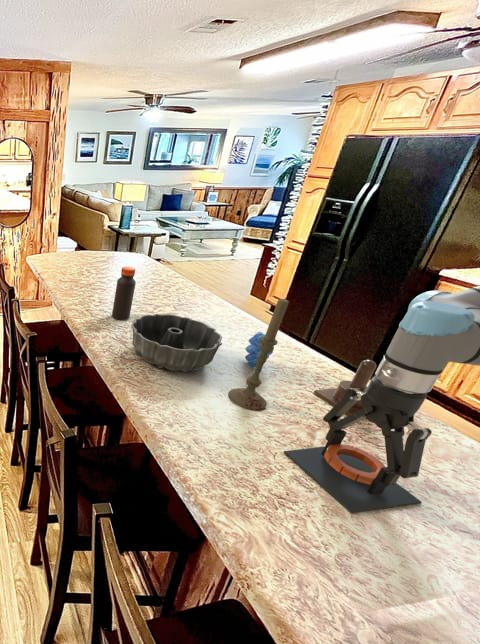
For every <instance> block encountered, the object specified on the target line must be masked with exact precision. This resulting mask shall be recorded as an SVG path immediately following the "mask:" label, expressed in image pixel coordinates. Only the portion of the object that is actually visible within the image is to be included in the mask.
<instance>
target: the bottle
mask: <svg viewBox="0 0 480 644" xmlns="http://www.w3.org/2000/svg"><path fill="white" fill-rule="evenodd" d="M120 275H121V277H118V279H117V280H116V286H115V287H116V288H115V293H114V300H113V304H112V312H111V317H112V318H113V319H115V320H118V321H127V320H129V319H130V316H131V311H132V307H133V306H132V305H133V300H134V295H135V288H136V280H135V279H134V277H135V275H136V268H135V267H132V266H122V267H121V271H120Z"/></svg>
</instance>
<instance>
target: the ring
mask: <svg viewBox="0 0 480 644" xmlns="http://www.w3.org/2000/svg"><path fill="white" fill-rule="evenodd" d="M340 454H344V455H348V456H352V457H354V458H357V459H359V460H361V461H363V462H364V463H366V464H367V465H368V466H370V467H371V468H372V470H373V472H372V473H367V472H363V471H359V470H356V469H354V468H352V467H350V466H348V465H346V464H345V463H344V462H343V461H341V460H340V459H339V457H338V455H340ZM324 457H325V459H326V461H327V463H329V465H330V466H332V467H333V468H334V469H335V470H336V471H338V472H341V474H342V475H344V476H346V477H348V478H350V479H352V480H356V481H357V482H362V483H366V484H370V485H371V484H372V483H373V481H374V479H375V478H376V476H377V475H378V473H379V471H380V470H381V468H382V467H386V465H385V464H384V463H383V461H382V460H380V459H379V458H377V457H376V456H374V455H373V454H371V453H370V452H367V451H365V450H363V449H361V448H359V447H355V446H354V445H348V444H344V443H341V444H332V445H329V447H328V448H327V450H326V452H325V454H324Z"/></svg>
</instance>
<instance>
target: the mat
mask: <svg viewBox="0 0 480 644" xmlns="http://www.w3.org/2000/svg"><path fill="white" fill-rule="evenodd" d="M324 447H325V446H319V447H307V448H300V449H291V450H290V449H289V450H284V451H283V454H284V455H286V456H287V457H288V458H289V459H290V460H291V461H292V462H294V463H295V464H296V465H297V467H299V468H300V469H301V470H302V471H303V472H304V473H306V474H307V476H308V477H310V478H311V479H312V480H313V481H314V482H316V483H317V484H318V485H319V486H320V487H321V488H322V489H323V490H324V491H326V492H327V493H328V494H329V495H330V496H331V497H332V498H334V500H336V501H337V502H338V503H339V504H340V505H341V506H342V507H344V508H345V510H347V511H348V512H349V513H350V514H357V513H363V512H365V513H366V512H370V511H378V510H385V509H391V508H399V507H405V506H413V505H420V504H422V500H420V499H419V498H418V497H416V496H415V495H413V494H412V493H411V492H410V491H408V490H406V488H404V487H403V486H402V485H400V484H399V483H398V482H396V483H395V484H394V485H390V486H387V487H386V488H385V490H384V491H383V493H380V494H373V495H371V494H369V493H368V492H367V491H368V489H369V488H370V486H371V485H370V484H366V483H362V482H357V481H356V480H352V479H350V478H348V477H346V476H344V475H342V474H341V472H338V471H336V470H335V469H334V468H333V467H332V466H330V465H329V463H327V461H326V459H325V457H324V456H323V455H321V453H322V451H323V449H324ZM338 457H339V459H340V460H341V461H343V462H344V463H345V464H346V465H348V466H350V467H352V468H354V469H356V470H359V471H363V472H367V473H372V472H373V470H372V468H371V467H370V466H368V465H367V464H366V463H364V462H363V461H361V460H359V459H357V458H354V457H352V456H348V455H344V454H340V455H338Z"/></svg>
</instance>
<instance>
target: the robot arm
mask: <svg viewBox="0 0 480 644" xmlns="http://www.w3.org/2000/svg"><path fill="white" fill-rule="evenodd" d="M449 363H456V364H465V365H471V366H479V367H480V285H477V286H474V287H471V288H468V289H464V290H461V291H457V292H454V293H452V292H449V291H445V290H440V289H439V290H438V289H437V290H429V291H425V292H422V293H419V294H418V295H417V296H416V297H415V298H413V299H412V300H411V301H410V303H409V304H408V308H407V312H406V314H405V315H404V317H403V318H402V320H401V321H399V324H398V328H397V330H396V332H395V334H394V335H393V338H392V340H391V342H390V344H389V346H388V347H387V350H386V351H385V354H384V355H383V358H382V359H381V361H380V363H379V365H378V367H377V368H376V371H374V375H373V376H372V377H371V379H370V380H369V382H368V384H367V389H366V393H363V392H362V390H361V389H360V388H351V389H346V391H345V394H344V397H343V398H342V399H341V400H340V401H339V402H338V403H337V404H336V405H335V406H332V408H331V409H330V410H329V411H328V412H327V413H326V414H325V415H324V416H323V417H322V420H323V422H325V423H327V424H328V426H329V429H328V431H327V432H326V435H325V440H326V442H325V443H326V444H325V445H324V446H323V447H324V449H323V451H322V453H321V455H323V456H324V454H325V452H326V450H327V448H328V447H329V445H332V444H342V443H343V441H344V438H345V437H346V435H347V431H345V430H347V428H348V427H350V426H353V425H355V424H357V423H359V422H362V421H364V420H367V421H368V422H370V423H373V424H374V425H375V426H376V427H378V428H379V429H380V430H381V435H382V436H383V437H384V446H385V455H386V458H385V459H386V466H385V467H382V468H381V470H380V471H379V473H378V475H377V476H376V478H375V479H374V481H373V483H372V484H371V486H370V488H369V489H368V491H367V492H368V493H369V494H371V495H373V494H380V493H383V491H384V490H385V488H386V487H387V486H390V485H394V484H395V483H398V480H399V479H400V477H401V478H402V479H411V478H417V477H418V476H419V474H420V470H421V469H420V468H421V464H422V459H423V456H424V455H423V454H424V450H425V445H426V441H427V440H428V438H429V437H430V436H431V435H432V433H433V431H432V430H431V429H430V428H428V427H422V426H421V425H419V424H418V423H416V422H415V414H417V412H418V411H419V410H420V408H421V407H422V406H423V404H424V402H425V400H426V399H427V397H428V393H430V392H431V391H432V389H433V388H434V386H435V384H436V382H437V381H438V379H439V377H440V376H441V374H442V373H443V372H444V369H445V368H446V367H447V366H448V364H449ZM358 400H361V403H362V409H360V410H358V411H356V412H354V413H353V414H351V415H349V416H347V415H346V414H345V413H346V412H347V411H348V410H349V409H350V408H351V407H352V406H353V405H354V404H355V403H356V402H357V401H358ZM344 415H346V416H345V417H343V416H344ZM405 427H407V431H406V435H407V437H406V440H405V444H404V438H403V437H404V436H405Z"/></svg>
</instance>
